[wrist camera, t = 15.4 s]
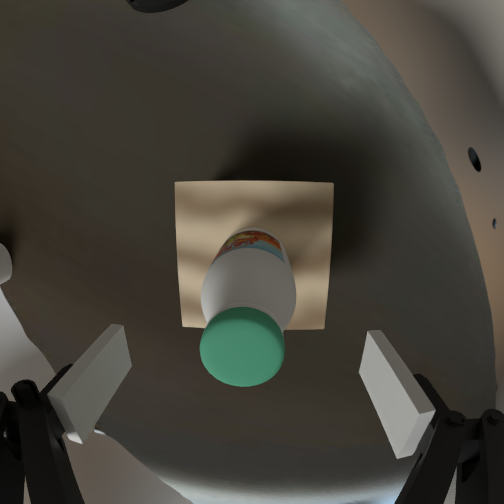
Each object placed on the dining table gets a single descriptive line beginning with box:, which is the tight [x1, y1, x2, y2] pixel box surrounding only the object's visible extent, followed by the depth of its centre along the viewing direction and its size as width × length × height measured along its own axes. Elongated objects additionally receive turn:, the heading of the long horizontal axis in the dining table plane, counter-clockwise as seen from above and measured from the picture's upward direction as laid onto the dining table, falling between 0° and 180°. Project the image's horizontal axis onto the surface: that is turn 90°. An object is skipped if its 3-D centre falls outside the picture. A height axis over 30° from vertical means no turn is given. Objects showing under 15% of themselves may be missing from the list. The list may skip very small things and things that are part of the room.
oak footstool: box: [175, 181, 334, 330], centre depth 40 cm, size 18×18×12 cm
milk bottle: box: [200, 227, 296, 387], centre depth 25 cm, size 8×8×20 cm
